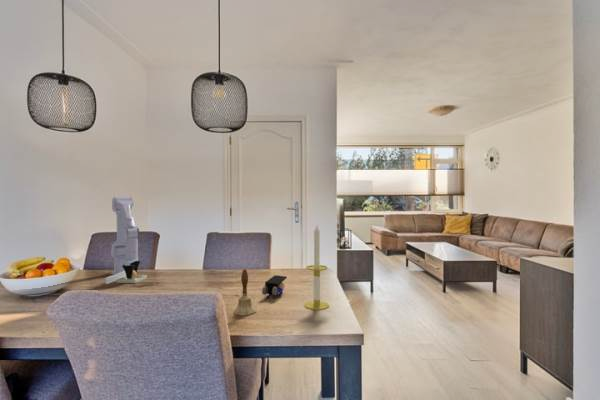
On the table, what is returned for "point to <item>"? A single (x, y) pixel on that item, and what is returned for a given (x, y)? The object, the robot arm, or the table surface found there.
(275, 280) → the figurine character
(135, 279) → the tray
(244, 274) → the hand bell
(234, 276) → the table surface
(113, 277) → the wall
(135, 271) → the ball
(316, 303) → the candle
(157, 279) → the table surface
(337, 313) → the table surface
